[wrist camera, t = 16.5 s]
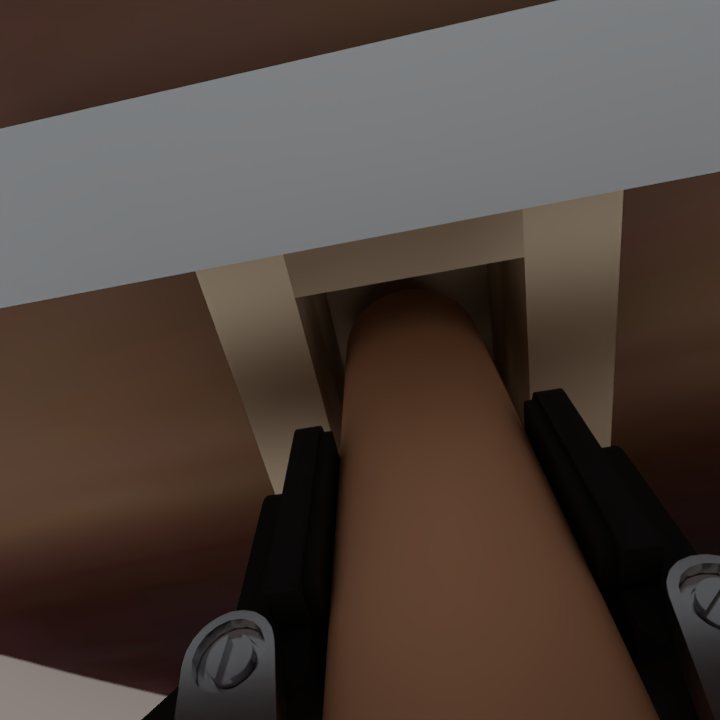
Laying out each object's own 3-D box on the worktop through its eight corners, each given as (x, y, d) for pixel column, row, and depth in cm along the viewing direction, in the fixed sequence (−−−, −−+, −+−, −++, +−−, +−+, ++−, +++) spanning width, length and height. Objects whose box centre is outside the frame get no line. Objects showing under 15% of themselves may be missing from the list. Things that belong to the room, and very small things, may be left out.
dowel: (484, 395, 16) (889, 1434, 4) (360, 415, 16) (351, 1410, 4) (473, 277, 14) (1225, 1585, 2) (333, 302, 14) (164, 1515, 2)
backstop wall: (747, 79, 15) (1282, 64, 6) (70, 219, 17) (-237, 353, 9) (762, -18, 14) (1436, -203, 5) (36, 145, 16) (-359, 211, 7)
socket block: (546, 387, 21) (608, 491, 15) (308, 423, 22) (288, 532, 16) (540, 122, 16) (625, 138, 11) (238, 184, 17) (179, 226, 12)
